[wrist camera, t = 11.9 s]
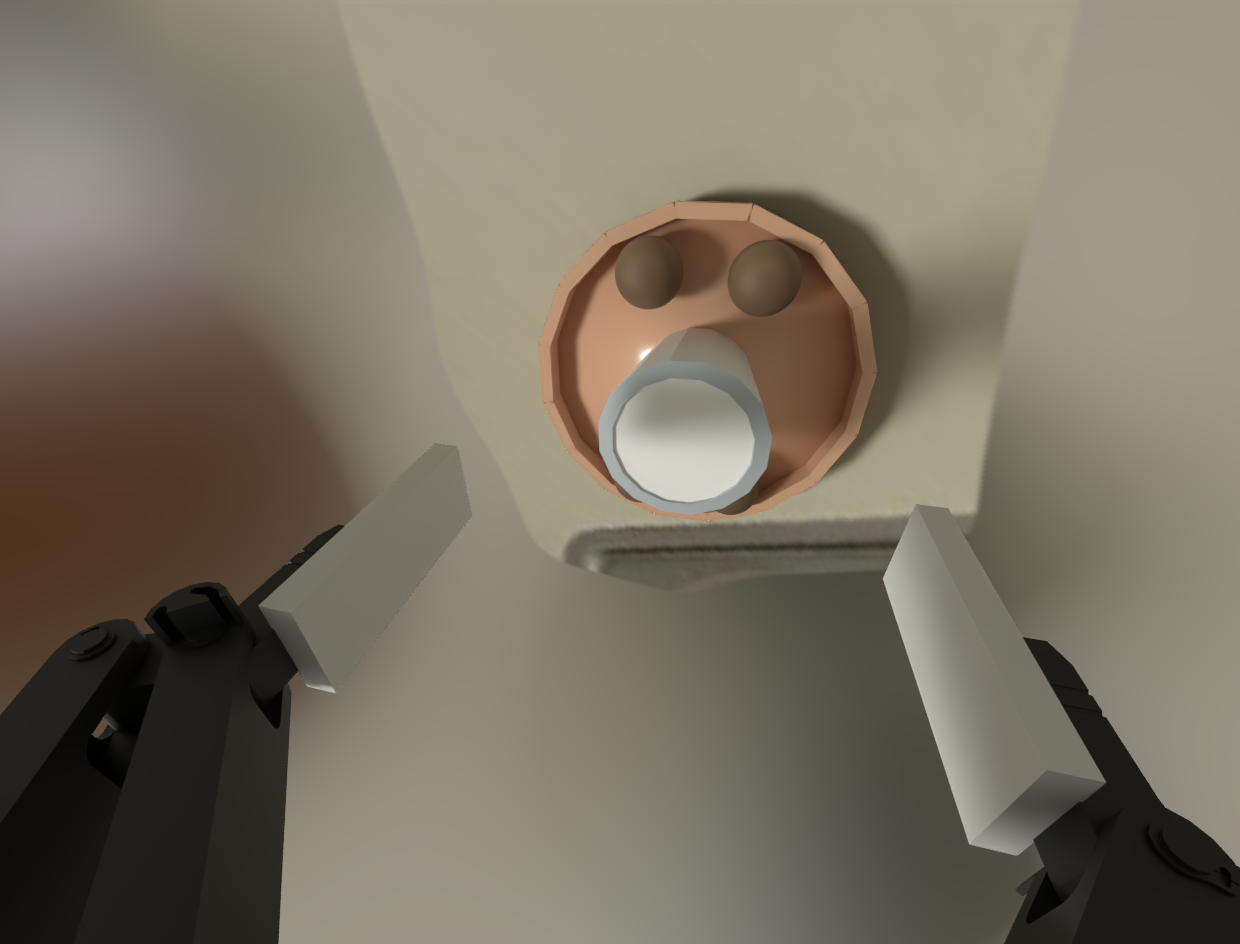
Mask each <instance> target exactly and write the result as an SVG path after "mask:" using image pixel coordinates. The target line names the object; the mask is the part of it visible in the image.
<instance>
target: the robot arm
mask: <svg viewBox="0 0 1240 944" xmlns="http://www.w3.org/2000/svg"><path fill="white" fill-rule="evenodd" d="M471 516H472V512H471V508H470V503H469V498H468V494H467V489H466V484H465V479H464V475H463V470H462V465H461V461H460V456H459V452H458V446H452V445H444V444H436V443H435V444H434V445H433V446H432V447H431V448H430V449H428V450H427V451H426V452H425V453H424V454H423V455H422V456H421V457H420V458H419V459H418V460H417V461H416V462H415V463H413V464H412V465H411V466H410V467H409V468H408V469H407V470H406V471H405V472H404V473H402V474H401V475H400V476H399V477H398V478H397V479H396V480H395V481H394V482H393V483H391V484H390V485H389V486H388V487H387V488H386V489H385V490H384V491H383V492H382V493H381V494H379V495H378V496H377V497H376V498H375V499H374V500H373V501H372V502H371V503H370V504H369V505H367V506H366V507H365V508H364V509H363V510H362V511H361V512H360V513H359V514H358V515H357V516H356V517H354V518H353V519H352V520H351V521H350V522H349V523H348V524H347V525H346V526H342V525H337V526H335V527H333V528H331V529H330V530H328V531H326V532H324V533H322V534H321V535H318V536H317V537H316V538H315V539H314V540H312V541H311V542H310V543H309V544H308V545H307V546H306V547H305V548H303V549H302V551H301V553H298V554H297V555H295V556H294V557H293V558H292V559H291V560H290V561H289V562H288V565H284V566H283V567H282V568H281V569H280V570H278V571H277V572H276V573H275V574H274V575H273V576H272V577H270V578H269V579H268V580H267V581H266V582H265V583H264V584H263V585H261V586H260V587H259V588H258V589H257V590H256V591H255V592H254V593H252V594H251V595H250V596H249V597H248V598H247V599H246V600H244V601H243V602H242V603H241V604H240V605H239V606H238V605H237V604H236V602H235V601H234V599H233V598H232V596H231V595H230V593H229V592H228V590H227V588H226V587H224V586H223V585H221V584H220V583H213V582H205V583H199V584H193V585H191V586H188V587H185V588H183V589H180V590H177V591H176V592H174V593H172V594H170V595H169V596H167V597H165V598H164V599H162V600H161V601H160V602H159V603H157V604H156V605H155V606H154V607H153V608H151V610H150V611H149V612H148V614H147V616H146V617H145V618H144V620H145V621H146V623H147V624H148V625H149V626H150V627H151V629H152V630H153V631H154V632H155V633H153V634H144V633H143V632H142V630H141V629H140V628H139V627H138V626H137V625H136V623H135V622H132V621H130V620H128V619H114V620H110V621H107V622H103V623H99V624H97V625H94V626H92V627H90V628H87V629H85V630H83V631H81V632H79V633H78V634H76V635H75V636H73V637H72V638H70V639H68V640H67V641H66V642H64V643H63V644H62V645H61V646H60V647H59V648H58V649H57V650H56V651H55V652H54V653H53V654H52V655H51V656H50V657H49V659H48V660H47V661H46V662H45V663H44V664H43V666H42V667H41V668H40V669H39V670H38V672H37V673H36V674H35V675H34V676H33V677H32V678H31V680H30V681H29V682H28V683H27V684H26V686H25V687H24V688H23V689H22V690H21V691H20V693H19V694H18V695H17V696H16V697H15V698H14V700H13V701H12V702H11V703H10V704H9V705H8V707H7V708H6V709H5V710H4V711H3V712H2V714H1V715H0V944H278V939H279V920H280V900H281V881H282V862H283V844H284V843H283V842H284V823H285V805H286V785H287V767H288V747H289V729H290V709H291V690H290V686H289V684H288V682H289V680H290V679H291V678H292V677H293V676H294V675H295V674H296V673H297V671H298V672H299V674H300V675H301V677H302V678H303V680H304V682H305V683H306V685H307V686H309V687H312V688H317V689H321V690H325V691H329V692H334V693H337V691H338V690H339V689H340V687H341V686H342V685H343V683H344V682H345V681H346V679H347V678H348V677H349V676H350V674H351V673H352V671H353V670H354V669H355V668H356V666H357V665H358V664H359V663H360V661H361V660H362V659H363V657H364V656H365V655H366V653H367V652H368V651H369V650H370V648H371V647H372V646H373V644H374V643H375V642H376V640H377V639H378V638H379V636H380V635H381V634H382V632H383V631H384V630H385V629H386V627H387V626H388V625H389V623H390V622H391V621H392V619H393V618H394V617H395V615H396V614H397V613H398V612H399V610H400V609H401V608H402V606H403V605H404V604H405V602H406V601H407V600H408V599H409V597H410V596H411V595H412V593H413V592H414V591H415V589H416V588H417V587H418V586H419V584H420V583H421V582H422V580H423V579H424V578H425V576H426V575H427V573H428V572H429V571H430V570H431V568H432V567H433V566H434V565H435V563H436V562H437V561H438V559H439V558H440V557H441V556H442V554H443V553H444V552H445V550H446V549H447V548H448V546H449V545H450V544H451V542H452V541H453V540H454V539H455V537H456V536H457V535H458V533H459V532H460V531H461V529H462V528H463V527H464V526H465V524H466V523H467V522H468V520H469V519H470V518H471ZM883 580H884V583H885V587H886V589H887V593H888V596H889V599H890V602H891V605H892V608H893V611H894V614H895V617H896V620H897V623H898V626H899V630H900V633H901V635H902V638H903V641H904V645H905V648H906V651H907V654H908V657H909V660H910V663H911V666H912V669H913V673H914V676H915V678H916V682H917V685H918V688H919V691H920V694H921V697H922V700H923V703H924V706H925V709H926V712H927V715H928V719H929V721H930V725H931V728H932V731H933V734H934V737H935V740H936V743H937V746H938V749H939V752H940V755H941V758H942V762H943V765H944V768H945V771H946V774H947V777H948V780H949V783H950V786H951V789H952V792H953V795H954V798H955V801H956V804H957V808H958V811H959V813H960V817H961V820H962V823H963V826H964V829H965V832H966V835H967V838H968V841H969V844H970V845H975V846H979V847H983V848H987V849H991V850H995V851H1000V852H1004V853H1008V854H1013V855H1019V854H1020V853H1021V852H1022V851H1024V850H1025V849H1026V848H1027V847H1028V846H1030V845H1031V844H1032V843H1033V842H1035V845H1036V847H1037V850H1038V852H1039V854H1040V857H1041V859H1042V861H1043V864H1044V867H1043V868H1042V869H1040V870H1039V871H1038V872H1036V873H1035V874H1034V875H1032V876H1031V877H1030V878H1028V879H1027V880H1026V881H1024V882H1023V883H1022V884H1021V885H1020V886H1019V887H1018V888H1017V889H1016V891H1017V892H1018V893H1019V894H1021V895H1022V896H1024V895H1025V894H1026V893H1027V895H1026V898H1025V900H1024V902H1023V904H1022V906H1021V908H1020V910H1019V913H1018V915H1017V917H1016V919H1015V922H1014V923H1013V926H1012V928H1011V930H1010V932H1009V934H1008V936H1007V939H1006V941H1005V943H1004V944H1240V867H1238V866H1236V865H1235V863H1234V862H1233V860H1232V859H1231V858H1229V856H1228V855H1227V854H1226V853H1225V852H1224V851H1223V850H1222V848H1221V847H1220V846H1219V845H1218V844H1217V843H1216V842H1215V841H1214V840H1213V839H1212V838H1211V837H1209V836H1208V835H1207V834H1206V833H1204V832H1203V831H1202V830H1201V829H1199V828H1198V827H1197V826H1195V825H1194V824H1193V823H1192V822H1190V821H1189V820H1187V819H1185V818H1183V817H1182V816H1179V815H1178V814H1176V813H1174V812H1172V811H1171V810H1169V809H1167V808H1165V807H1164V805H1163V804H1162V803H1161V802H1160V800H1159V799H1158V797H1157V796H1156V794H1155V793H1154V791H1153V790H1152V788H1151V786H1150V785H1149V783H1148V782H1147V780H1146V779H1145V777H1144V776H1143V774H1142V773H1141V771H1140V770H1139V768H1138V766H1137V765H1136V763H1135V762H1134V760H1133V758H1132V757H1131V755H1130V754H1129V752H1128V751H1127V749H1126V748H1125V746H1124V744H1123V743H1122V741H1121V740H1120V738H1119V737H1118V735H1117V734H1116V732H1115V731H1114V729H1113V727H1112V726H1111V724H1110V723H1109V721H1108V720H1107V718H1106V717H1103V716H1102V710H1101V709H1100V708H1099V706H1098V704H1097V703H1096V701H1095V700H1094V698H1093V696H1091V695H1089V694H1088V689H1087V687H1086V685H1085V684H1084V682H1083V681H1082V679H1081V678H1080V676H1079V675H1078V673H1077V672H1076V670H1075V668H1074V667H1073V666H1072V664H1070V662H1068V661H1067V660H1066V659H1065V658H1064V657H1063V656H1062V655H1061V654H1060V653H1059V652H1058V651H1057V650H1055V648H1054V647H1052V646H1051V645H1050V644H1049V643H1048V642H1047V641H1041V640H1036V639H1030V638H1024V637H1022V636H1021V634H1020V632H1019V630H1018V629H1017V627H1016V625H1015V623H1014V622H1013V620H1012V618H1011V617H1010V615H1009V613H1008V611H1007V610H1006V608H1005V606H1004V604H1003V603H1002V601H1001V599H1000V597H999V596H998V594H997V592H996V591H995V589H994V587H993V585H992V584H991V582H990V580H989V578H988V577H987V575H986V573H985V572H984V570H983V568H982V566H981V565H980V563H979V561H978V559H977V558H976V556H975V554H974V552H973V551H972V549H971V547H970V545H969V544H968V542H967V540H966V539H965V537H964V535H963V533H962V532H961V530H960V528H959V526H958V525H957V523H956V521H955V520H954V518H953V516H952V514H951V513H950V511H949V509H948V508H942V507H934V506H926V505H918V504H916V505H915V508H914V510H913V512H912V514H911V517H910V519H909V521H908V523H907V526H906V528H905V530H904V532H903V535H902V537H901V539H900V541H899V544H898V546H897V548H896V550H895V553H894V555H893V557H892V559H891V562H890V564H889V566H888V568H887V571H886V573H885V575H884V578H883ZM102 719H103V720H104V721H105V722H106V723H107V724H108V726H107V727H106V729H105V730H104V732H103V733H102V734H101V735H100V736H99V737H98V738H95V737H94V736H93V735H92V733H93V732H94V730H95V729H96V727H97V726H98V724H99V723H100V721H101V720H102Z"/></svg>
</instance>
